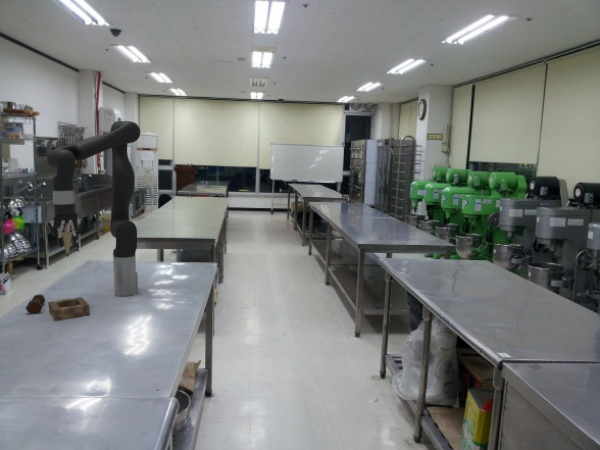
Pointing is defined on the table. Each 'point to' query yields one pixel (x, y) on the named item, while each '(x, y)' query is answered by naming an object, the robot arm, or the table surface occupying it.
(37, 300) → the bolt
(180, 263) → the table surface
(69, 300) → the wooden square frame
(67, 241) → the ice cream cone
